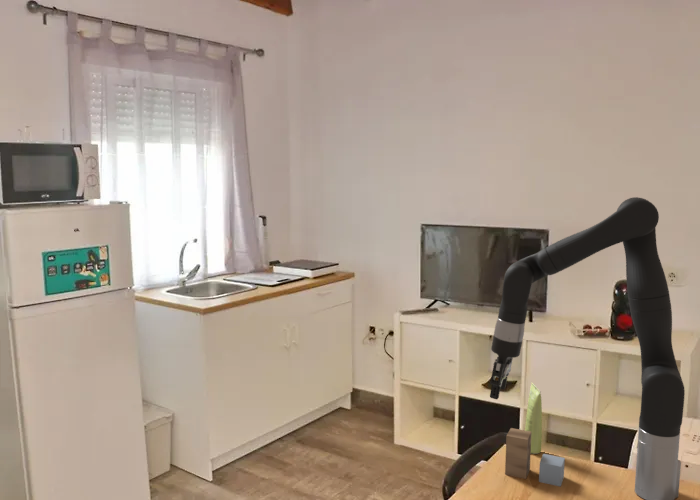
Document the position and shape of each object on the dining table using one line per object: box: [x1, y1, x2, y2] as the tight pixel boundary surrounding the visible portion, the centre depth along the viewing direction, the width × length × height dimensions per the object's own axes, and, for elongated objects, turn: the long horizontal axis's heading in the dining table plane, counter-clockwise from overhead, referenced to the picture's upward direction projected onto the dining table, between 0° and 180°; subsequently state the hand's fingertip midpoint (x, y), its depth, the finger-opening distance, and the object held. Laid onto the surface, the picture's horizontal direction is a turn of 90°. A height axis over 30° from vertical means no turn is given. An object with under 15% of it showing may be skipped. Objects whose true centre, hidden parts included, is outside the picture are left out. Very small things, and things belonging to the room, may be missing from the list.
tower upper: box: [505, 427, 531, 459], centre depth 169 cm, size 6×6×6 cm
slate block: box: [538, 453, 566, 487], centre depth 166 cm, size 6×6×6 cm
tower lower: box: [504, 451, 532, 480], centre depth 170 cm, size 6×6×6 cm
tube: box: [524, 381, 543, 455], centre depth 181 cm, size 6×5×20 cm
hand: (497, 393), depth 170 cm, fingers open, 8 cm apart
